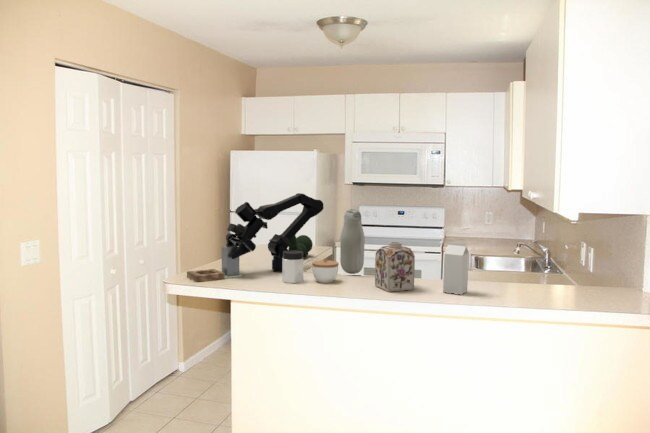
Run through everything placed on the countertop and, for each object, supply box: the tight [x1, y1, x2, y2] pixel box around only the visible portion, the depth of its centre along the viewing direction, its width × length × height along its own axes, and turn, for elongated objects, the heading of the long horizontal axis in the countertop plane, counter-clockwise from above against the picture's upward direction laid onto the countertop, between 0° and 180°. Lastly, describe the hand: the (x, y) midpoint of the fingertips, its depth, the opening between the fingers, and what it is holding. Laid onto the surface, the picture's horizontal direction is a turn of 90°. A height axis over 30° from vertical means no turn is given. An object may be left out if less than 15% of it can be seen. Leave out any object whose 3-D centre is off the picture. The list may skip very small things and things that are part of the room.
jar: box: [281, 249, 305, 284], centre depth 235 cm, size 9×8×12 cm
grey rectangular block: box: [221, 245, 240, 277], centre depth 244 cm, size 6×6×12 cm
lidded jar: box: [311, 258, 339, 284], centre depth 236 cm, size 11×11×9 cm
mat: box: [225, 273, 244, 279], centre depth 245 cm, size 8×8×1 cm
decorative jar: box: [374, 241, 416, 293], centre depth 225 cm, size 12×12×18 cm
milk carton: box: [442, 241, 470, 296], centre depth 220 cm, size 7×7×19 cm
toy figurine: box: [288, 234, 314, 259], centre depth 290 cm, size 9×19×25 cm
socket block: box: [186, 268, 226, 283], centre depth 239 cm, size 12×11×2 cm
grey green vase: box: [339, 208, 366, 275], centre depth 253 cm, size 10×10×28 cm
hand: (227, 256), depth 243 cm, fingers open, 9 cm apart
